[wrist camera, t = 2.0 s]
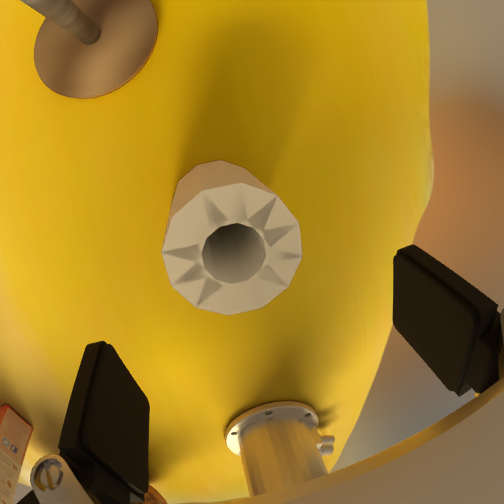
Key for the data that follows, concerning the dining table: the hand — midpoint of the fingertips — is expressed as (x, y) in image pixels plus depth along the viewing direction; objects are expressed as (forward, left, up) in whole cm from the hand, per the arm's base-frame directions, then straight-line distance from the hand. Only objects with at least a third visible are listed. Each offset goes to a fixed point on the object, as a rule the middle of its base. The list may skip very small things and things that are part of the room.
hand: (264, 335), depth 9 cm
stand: (+14, -10, -17) cm, 24 cm away
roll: (0, 0, -17) cm, 17 cm away
